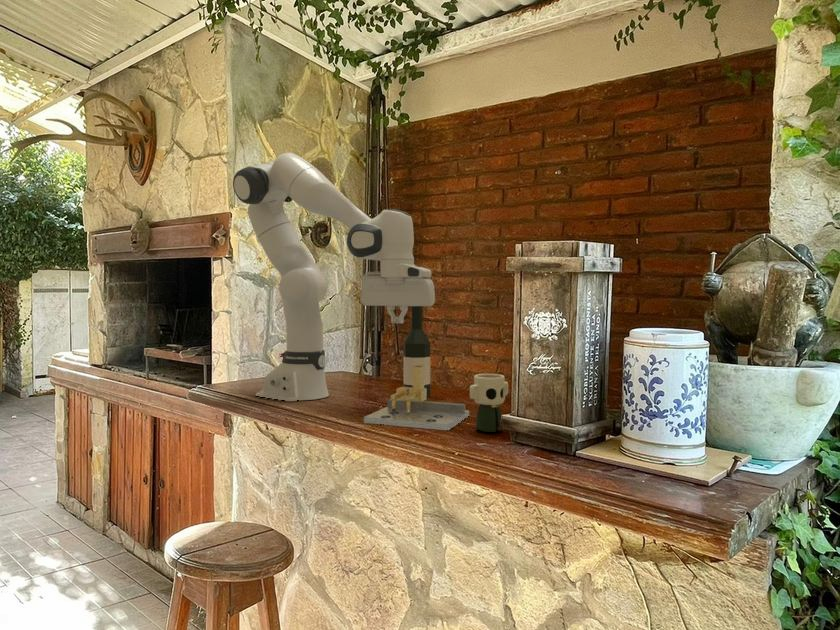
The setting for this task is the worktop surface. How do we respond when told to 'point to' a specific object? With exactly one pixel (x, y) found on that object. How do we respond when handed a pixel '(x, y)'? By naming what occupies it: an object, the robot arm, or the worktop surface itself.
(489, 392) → the character mug
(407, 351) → the wine bottle
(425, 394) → the sliding leg
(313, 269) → the robot arm
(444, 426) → the flange plate
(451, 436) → the worktop surface
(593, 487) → the worktop surface
